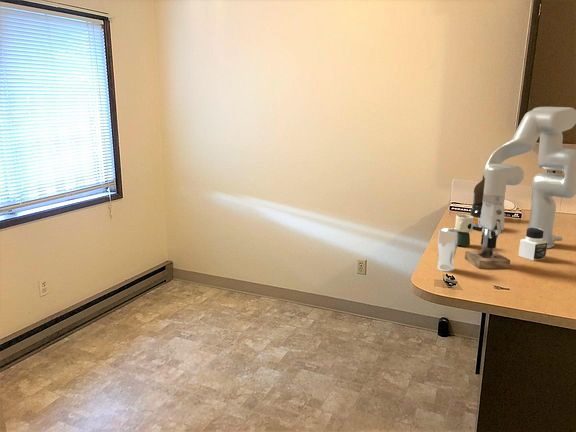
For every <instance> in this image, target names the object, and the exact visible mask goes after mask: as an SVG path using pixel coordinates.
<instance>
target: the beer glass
mask: <svg viewBox="0 0 576 432" xmlns="http://www.w3.org/2000/svg"><path fill="white" fill-rule="evenodd" d="M457 248H458V230H456V229H455V228H452V227H440V228H439V232H438V237H437V250H438V253H437V254H438V262H437V265H436V269H437V270H438V271H440V272H446V273H447V272H450V273H451V272H454V270H455V266H454V265H455V264H454V260H455V257H456V256H455V255H456V252H457Z"/></svg>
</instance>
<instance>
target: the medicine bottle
mask: <svg viewBox="0 0 576 432" xmlns="http://www.w3.org/2000/svg"><path fill="white" fill-rule="evenodd" d="M543 233H544V231H543V230H542V229H539V228H529V227H528V228H527V229H526V235H525V238H521V239H520V241H519V248H518V257H519V258H520V257H521V258H524V259H527V260H529V261H532V262H535V261H539V260H545V259H546V256H547V249H548V248H547V242H546V241H543ZM526 238H527V239H526Z"/></svg>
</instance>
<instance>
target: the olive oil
mask: <svg viewBox="0 0 576 432" xmlns="http://www.w3.org/2000/svg"><path fill="white" fill-rule="evenodd" d="M484 184H485V178H484V175H483V174H482V179H481V180H480V181H479V182H478V183H477V184H476V185H475V186H474V188H473V189H474V190H473V199H472V201H473V202H472V204H474V203H483V194H484Z"/></svg>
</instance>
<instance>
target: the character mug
mask: <svg viewBox="0 0 576 432" xmlns="http://www.w3.org/2000/svg"><path fill="white" fill-rule="evenodd" d="M470 215H471V214H456V215H455V225H454V229H456V230H458V245H459V246H460V247H469V246H470V245H471V242H470V241H471V238H470V237H471V235H470V233H471V232H472V231H473V230H474V229H473V219H474V217H473V216H470ZM458 245H457V246H458Z"/></svg>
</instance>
